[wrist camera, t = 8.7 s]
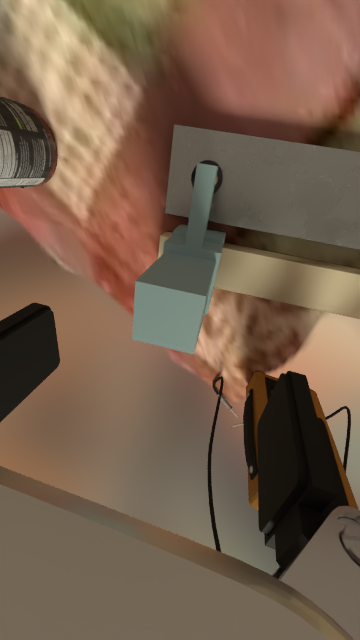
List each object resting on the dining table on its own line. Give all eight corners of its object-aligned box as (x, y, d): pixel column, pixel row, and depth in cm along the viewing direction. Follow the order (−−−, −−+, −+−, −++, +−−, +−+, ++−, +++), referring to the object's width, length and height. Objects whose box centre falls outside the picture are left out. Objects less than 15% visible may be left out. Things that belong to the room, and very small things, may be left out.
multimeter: (198, 412, 34) (156, 650, 17) (223, 357, 29) (199, 621, 12) (304, 449, 33) (372, 737, 16) (349, 400, 28) (521, 748, 11)
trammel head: (240, 171, 19) (240, 165, 9) (212, 290, 24) (194, 368, 14) (189, 163, 20) (137, 148, 10) (173, 282, 25) (128, 351, 15)
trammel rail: (502, 215, 18) (635, 233, 12) (421, 323, 22) (486, 376, 16) (173, 161, 20) (146, 154, 14) (162, 268, 25) (137, 297, 19)
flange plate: (529, 179, 17) (549, 179, 16) (463, 266, 20) (477, 271, 19) (177, 127, 19) (173, 124, 18) (168, 211, 22) (164, 213, 21)
